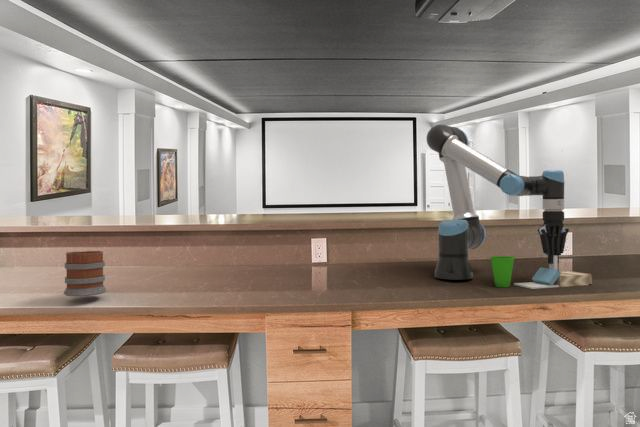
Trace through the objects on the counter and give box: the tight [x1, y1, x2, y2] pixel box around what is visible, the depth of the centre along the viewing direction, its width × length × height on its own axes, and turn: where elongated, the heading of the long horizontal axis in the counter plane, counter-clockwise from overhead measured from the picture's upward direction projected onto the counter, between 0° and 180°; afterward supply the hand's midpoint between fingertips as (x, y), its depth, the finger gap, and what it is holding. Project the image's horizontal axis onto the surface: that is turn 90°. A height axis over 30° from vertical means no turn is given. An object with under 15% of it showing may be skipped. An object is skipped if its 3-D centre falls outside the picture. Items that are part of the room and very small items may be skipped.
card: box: [531, 267, 561, 286], centre depth 189 cm, size 6×9×2 cm
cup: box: [489, 255, 516, 288], centre depth 188 cm, size 9×9×11 cm
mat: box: [513, 281, 560, 290], centre depth 188 cm, size 12×10×1 cm
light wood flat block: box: [554, 270, 593, 288], centre depth 192 cm, size 15×10×4 cm, turn 108°
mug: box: [63, 250, 107, 297], centre depth 182 cm, size 14×19×15 cm
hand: (553, 272), depth 190 cm, fingers closed
